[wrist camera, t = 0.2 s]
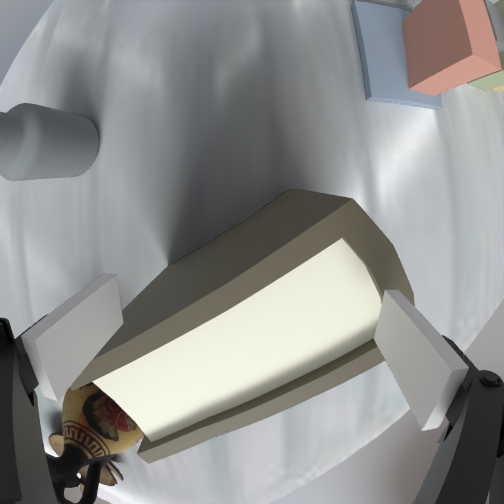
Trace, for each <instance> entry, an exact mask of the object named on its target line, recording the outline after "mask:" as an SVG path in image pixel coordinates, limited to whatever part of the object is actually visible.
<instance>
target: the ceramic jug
mask: <svg viewBox="0 0 504 504" xmlns="http://www.w3.org/2000/svg"><path fill="white" fill-rule="evenodd" d="M62 430H63V438H64V444H63V446H64V450H63V453H62V455H61V456H60V457H54V456H52V455H49V454H47V453H45V455H46V460H47V464H48V469H49V473H50V477H51V481H52V485H53V488H54V492H55V495H56V499H57V502H58V504H93V503H94V502H95V500H96V497H97V491H98V486H99V481H100V473H101V469H102V467H103V466H105V465H106V464H107V463H108V462H109V461H110V460H111V459H112V458H113V457H114V456H115V455H116V454H118V453H121V452H123V451H125V450H127V449H129V448H130V447H132V446H133V445H135V444H136V443H138V441H139V440H140V439H141V438H142V437H143V436H144V435H145V434H144V432H143V431H142V430H141V429H140V427H139V426H138V425H137V423H136V422H135V421H134V420H133V419H132V418H131V417H130V416H129V415H128V414H127V413H126V412H125V411H124V410H123V409H122V408H121V407H120V406H119V405H118V404H117V403H116V402H115V401H114V400H113V399H112V398H111V397H110V396H108V395H107V394H106V393H105V392H104V391H102V390H101V389H100V388H99V387H98V386H97V385H96V384H94V383H93V382H90V383H88V384H86V385H84V386H82V387H80V388H78V389H75V390H73V391H72V389H71V388H70V387H69V388H68V390H67V391H66V394H65V397H64V402H63V411H62ZM88 464H90V465H89V467H88V471H87V475H86V482H85V485H84V489H83V494H82V498H81V500H80V501H79V502H78V503H72V502H71V501H69V500H67V499H65V497H64V489H65V488H73V487H78V486H79V485H80V479H79V478H78V477H77V473H78V472H79V470H80V469H81V468H83V467H85V466H87V465H88Z"/></svg>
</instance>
